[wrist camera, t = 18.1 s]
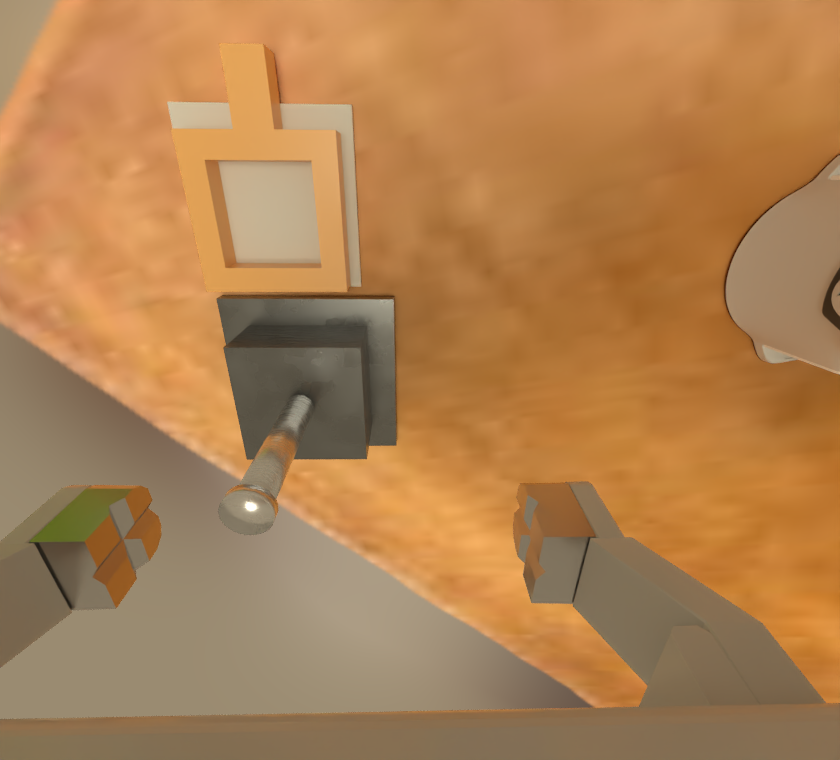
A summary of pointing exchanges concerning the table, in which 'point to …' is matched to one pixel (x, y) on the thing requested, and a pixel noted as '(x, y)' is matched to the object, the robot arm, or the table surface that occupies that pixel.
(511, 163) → the table surface
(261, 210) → the mat
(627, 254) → the table surface
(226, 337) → the stand
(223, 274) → the orange handled frame
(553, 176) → the table surface
